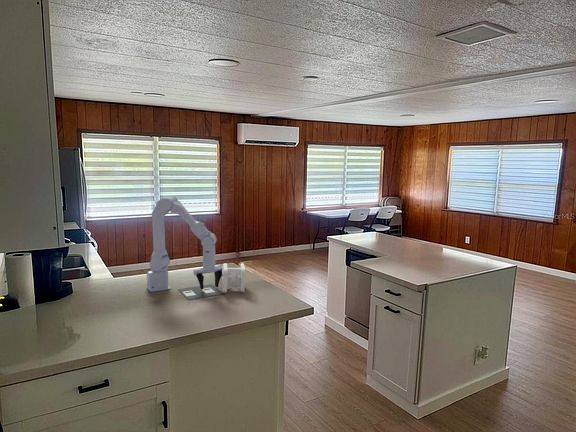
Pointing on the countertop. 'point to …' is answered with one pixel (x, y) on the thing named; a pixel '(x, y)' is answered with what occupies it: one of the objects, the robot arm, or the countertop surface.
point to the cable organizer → (233, 277)
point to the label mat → (200, 292)
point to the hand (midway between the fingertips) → (209, 287)
